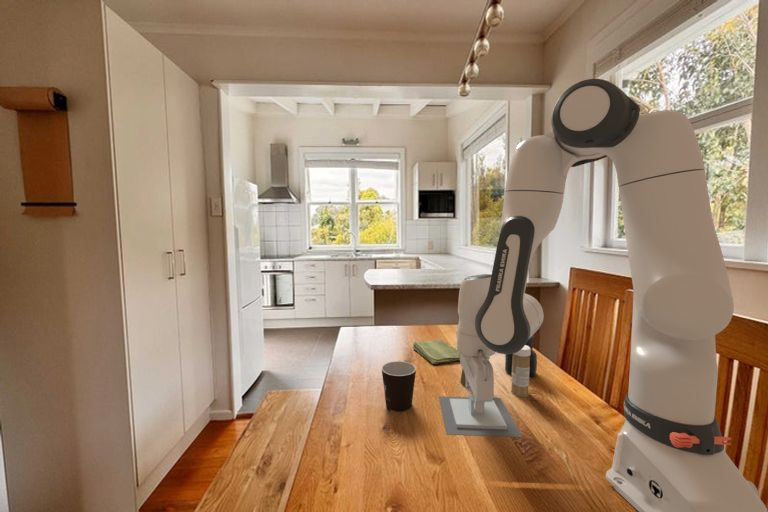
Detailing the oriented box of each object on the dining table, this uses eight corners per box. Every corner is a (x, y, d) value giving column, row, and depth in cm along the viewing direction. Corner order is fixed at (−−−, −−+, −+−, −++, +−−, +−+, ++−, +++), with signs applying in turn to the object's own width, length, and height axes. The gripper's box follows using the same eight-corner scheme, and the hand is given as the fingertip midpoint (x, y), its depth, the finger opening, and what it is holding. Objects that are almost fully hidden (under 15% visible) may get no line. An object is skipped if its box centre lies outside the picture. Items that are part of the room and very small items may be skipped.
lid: (506, 429, 72) (507, 410, 71) (456, 427, 72) (456, 409, 72) (493, 402, 82) (493, 386, 82) (449, 401, 83) (449, 385, 83)
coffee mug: (411, 419, 77) (411, 378, 76) (376, 412, 79) (376, 372, 79) (421, 395, 88) (422, 359, 87) (391, 390, 90) (391, 355, 90)
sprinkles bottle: (511, 389, 90) (512, 342, 89) (529, 392, 89) (530, 344, 88) (510, 397, 86) (511, 348, 85) (529, 400, 84) (530, 350, 83)
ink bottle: (542, 374, 100) (544, 336, 99) (528, 382, 95) (530, 342, 94) (512, 364, 108) (514, 328, 107) (498, 371, 102) (499, 334, 101)
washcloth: (432, 367, 106) (432, 358, 106) (410, 348, 123) (410, 340, 123) (467, 362, 110) (467, 353, 110) (441, 344, 127) (441, 336, 127)
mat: (522, 439, 69) (522, 437, 69) (446, 437, 70) (446, 434, 70) (500, 400, 85) (500, 398, 85) (438, 398, 86) (438, 396, 86)
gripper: (503, 361, 66) (500, 426, 67) (479, 329, 86) (477, 379, 87) (471, 360, 66) (469, 425, 67) (455, 328, 86) (453, 378, 88)
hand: (473, 399), depth 77 cm, fingers open, 8 cm apart
